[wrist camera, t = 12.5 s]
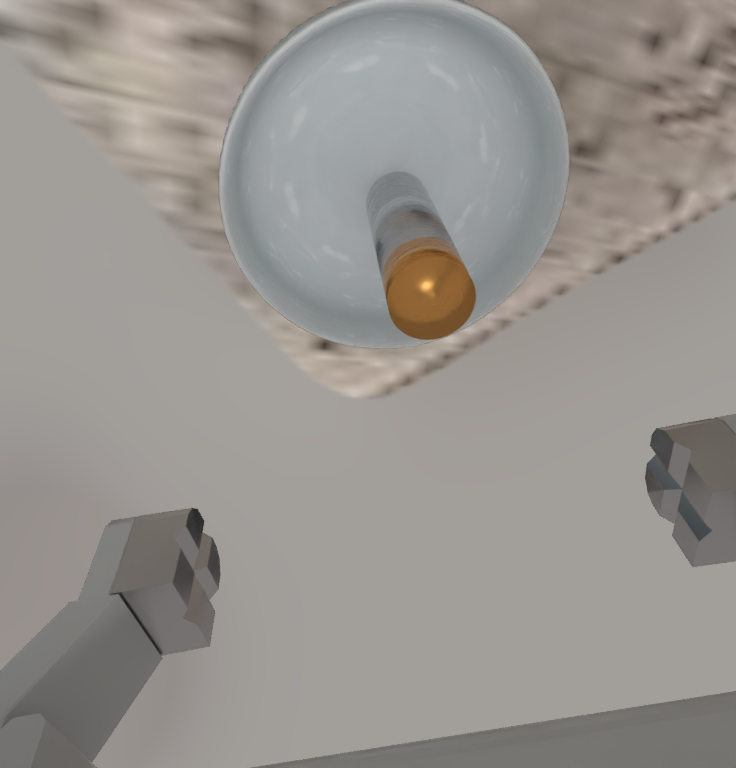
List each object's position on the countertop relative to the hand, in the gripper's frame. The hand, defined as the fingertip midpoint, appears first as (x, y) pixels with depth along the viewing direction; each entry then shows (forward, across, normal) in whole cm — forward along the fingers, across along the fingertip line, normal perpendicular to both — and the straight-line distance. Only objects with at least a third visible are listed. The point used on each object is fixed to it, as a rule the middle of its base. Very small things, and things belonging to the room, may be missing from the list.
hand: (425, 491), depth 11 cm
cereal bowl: (+28, -2, +2) cm, 28 cm away
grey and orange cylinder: (+20, -2, +2) cm, 20 cm away
